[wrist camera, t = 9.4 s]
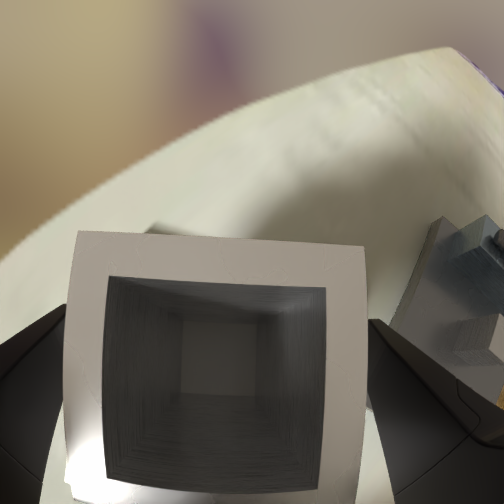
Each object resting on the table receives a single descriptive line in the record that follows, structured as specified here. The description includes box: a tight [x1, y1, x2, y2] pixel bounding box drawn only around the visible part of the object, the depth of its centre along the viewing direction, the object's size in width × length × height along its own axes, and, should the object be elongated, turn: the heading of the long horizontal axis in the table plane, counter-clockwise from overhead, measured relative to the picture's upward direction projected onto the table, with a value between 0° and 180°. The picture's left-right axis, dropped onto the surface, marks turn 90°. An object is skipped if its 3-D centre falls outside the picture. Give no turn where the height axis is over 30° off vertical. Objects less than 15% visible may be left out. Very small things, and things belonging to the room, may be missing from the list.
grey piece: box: [366, 215, 504, 412], centre depth 15 cm, size 14×12×6 cm
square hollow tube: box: [63, 231, 368, 504], centre depth 10 cm, size 5×5×11 cm
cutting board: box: [65, 321, 257, 485], centre depth 15 cm, size 16×14×2 cm
